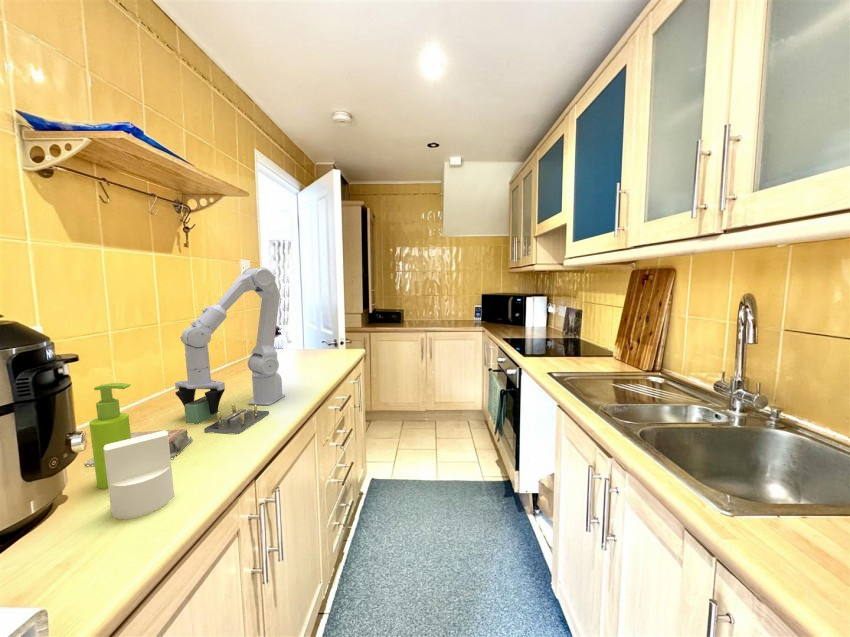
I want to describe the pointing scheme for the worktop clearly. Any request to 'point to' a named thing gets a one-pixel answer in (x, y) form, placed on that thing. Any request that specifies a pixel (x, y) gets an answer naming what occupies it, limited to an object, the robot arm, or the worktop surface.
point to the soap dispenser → (107, 428)
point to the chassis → (236, 420)
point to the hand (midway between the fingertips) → (202, 412)
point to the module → (197, 411)
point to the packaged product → (176, 441)
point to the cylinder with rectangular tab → (139, 475)
